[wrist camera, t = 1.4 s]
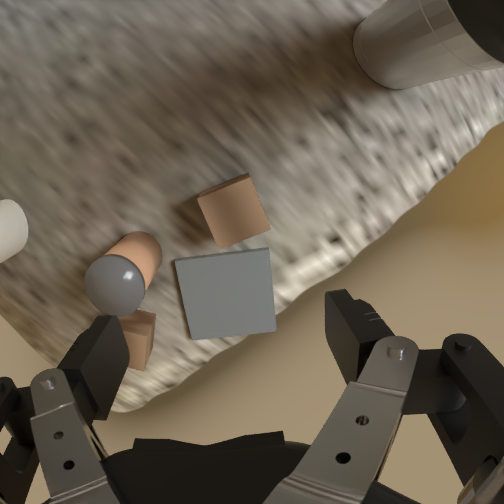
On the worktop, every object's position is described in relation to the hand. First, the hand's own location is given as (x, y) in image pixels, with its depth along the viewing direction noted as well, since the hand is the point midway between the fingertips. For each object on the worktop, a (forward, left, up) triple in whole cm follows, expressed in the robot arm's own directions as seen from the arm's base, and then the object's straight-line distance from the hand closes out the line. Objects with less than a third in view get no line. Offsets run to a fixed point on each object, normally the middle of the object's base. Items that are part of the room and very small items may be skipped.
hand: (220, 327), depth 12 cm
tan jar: (+10, +3, -22) cm, 25 cm away
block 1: (+13, +12, -22) cm, 29 cm away
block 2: (-1, -1, -22) cm, 22 cm away
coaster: (+1, +9, -22) cm, 24 cm away
